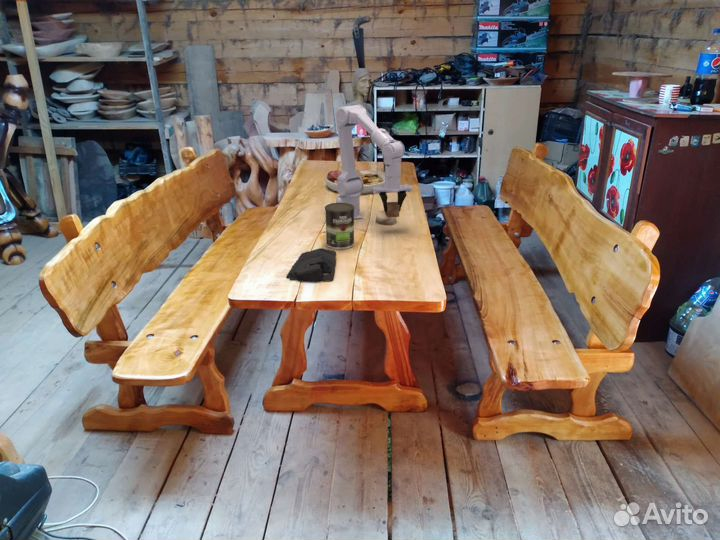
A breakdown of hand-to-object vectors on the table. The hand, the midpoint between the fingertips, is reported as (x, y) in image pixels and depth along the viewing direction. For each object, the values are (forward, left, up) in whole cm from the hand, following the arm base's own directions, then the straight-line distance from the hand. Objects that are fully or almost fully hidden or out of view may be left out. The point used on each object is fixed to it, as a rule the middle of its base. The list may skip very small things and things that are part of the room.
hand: (392, 211), depth 207 cm
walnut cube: (0, 0, -2) cm, 2 cm away
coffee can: (-21, -10, -8) cm, 25 cm away
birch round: (0, +11, -8) cm, 14 cm away
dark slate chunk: (-32, -29, -9) cm, 44 cm away
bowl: (-4, +63, -9) cm, 64 cm away
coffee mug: (+18, +88, -8) cm, 90 cm away
